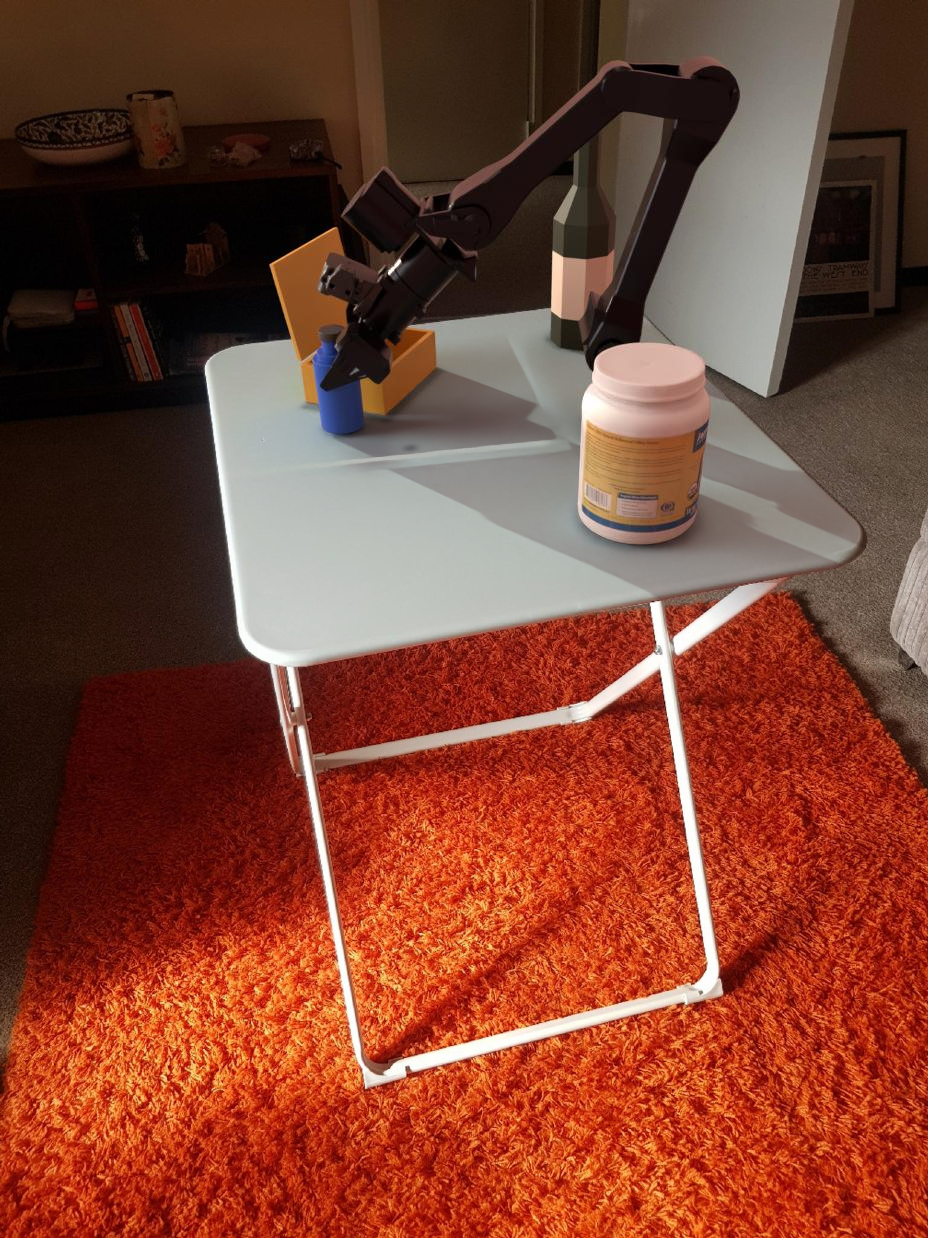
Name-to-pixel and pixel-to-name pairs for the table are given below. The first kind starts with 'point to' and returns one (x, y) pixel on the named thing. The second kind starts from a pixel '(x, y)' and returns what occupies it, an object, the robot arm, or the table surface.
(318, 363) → the bottle
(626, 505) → the supplement tub
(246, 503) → the table surface
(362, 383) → the box
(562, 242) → the wine bottle
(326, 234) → the lunchbox lid
